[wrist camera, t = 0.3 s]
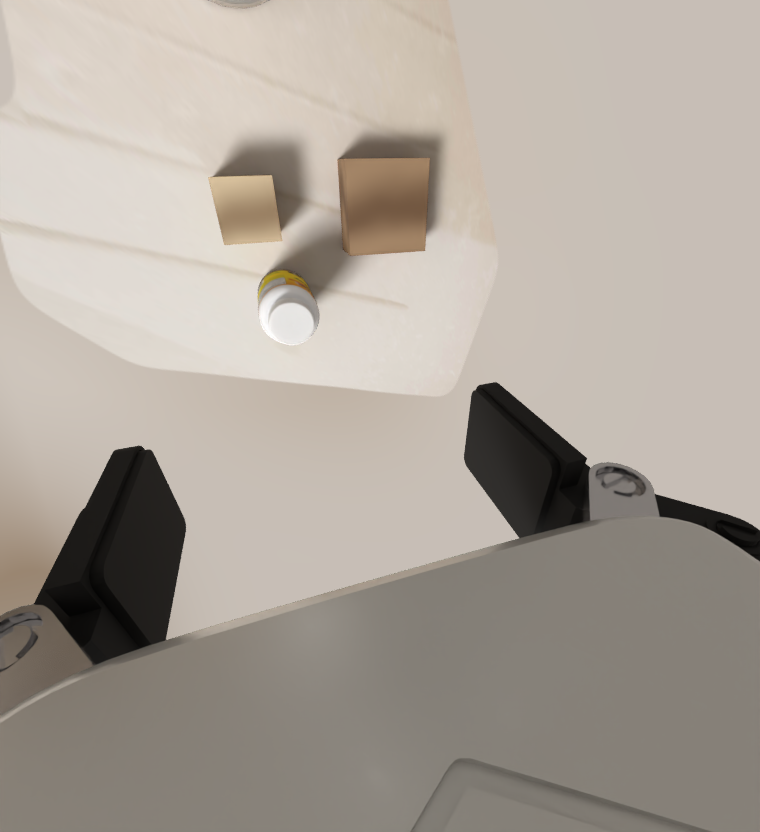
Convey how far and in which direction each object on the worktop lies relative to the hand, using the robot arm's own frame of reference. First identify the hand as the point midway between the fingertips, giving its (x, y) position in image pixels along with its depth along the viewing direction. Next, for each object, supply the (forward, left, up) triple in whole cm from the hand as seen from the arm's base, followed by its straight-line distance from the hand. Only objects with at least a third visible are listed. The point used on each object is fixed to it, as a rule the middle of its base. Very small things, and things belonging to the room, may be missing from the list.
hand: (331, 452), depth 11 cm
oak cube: (-4, -2, -34) cm, 34 cm away
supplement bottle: (+4, 0, -34) cm, 34 cm away
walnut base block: (-4, +11, -34) cm, 36 cm away
